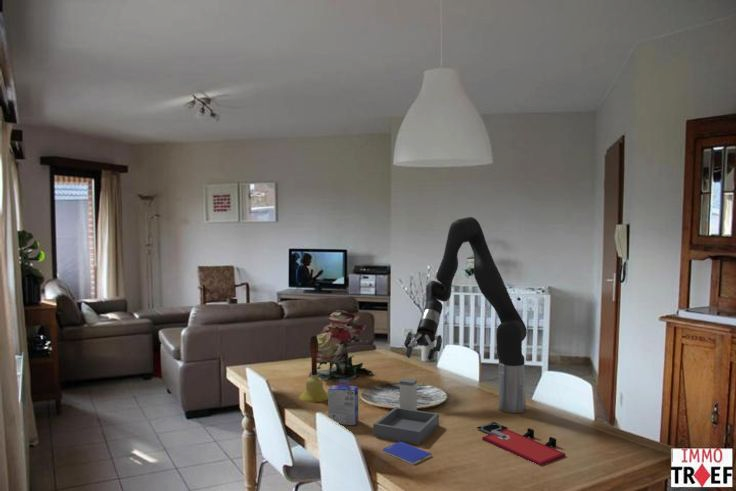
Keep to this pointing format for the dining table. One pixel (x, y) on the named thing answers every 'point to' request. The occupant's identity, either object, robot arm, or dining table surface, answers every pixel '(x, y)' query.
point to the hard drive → (407, 452)
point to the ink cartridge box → (343, 403)
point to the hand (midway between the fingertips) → (418, 358)
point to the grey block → (408, 394)
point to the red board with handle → (521, 444)
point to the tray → (406, 425)
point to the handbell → (314, 378)
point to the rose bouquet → (339, 347)
